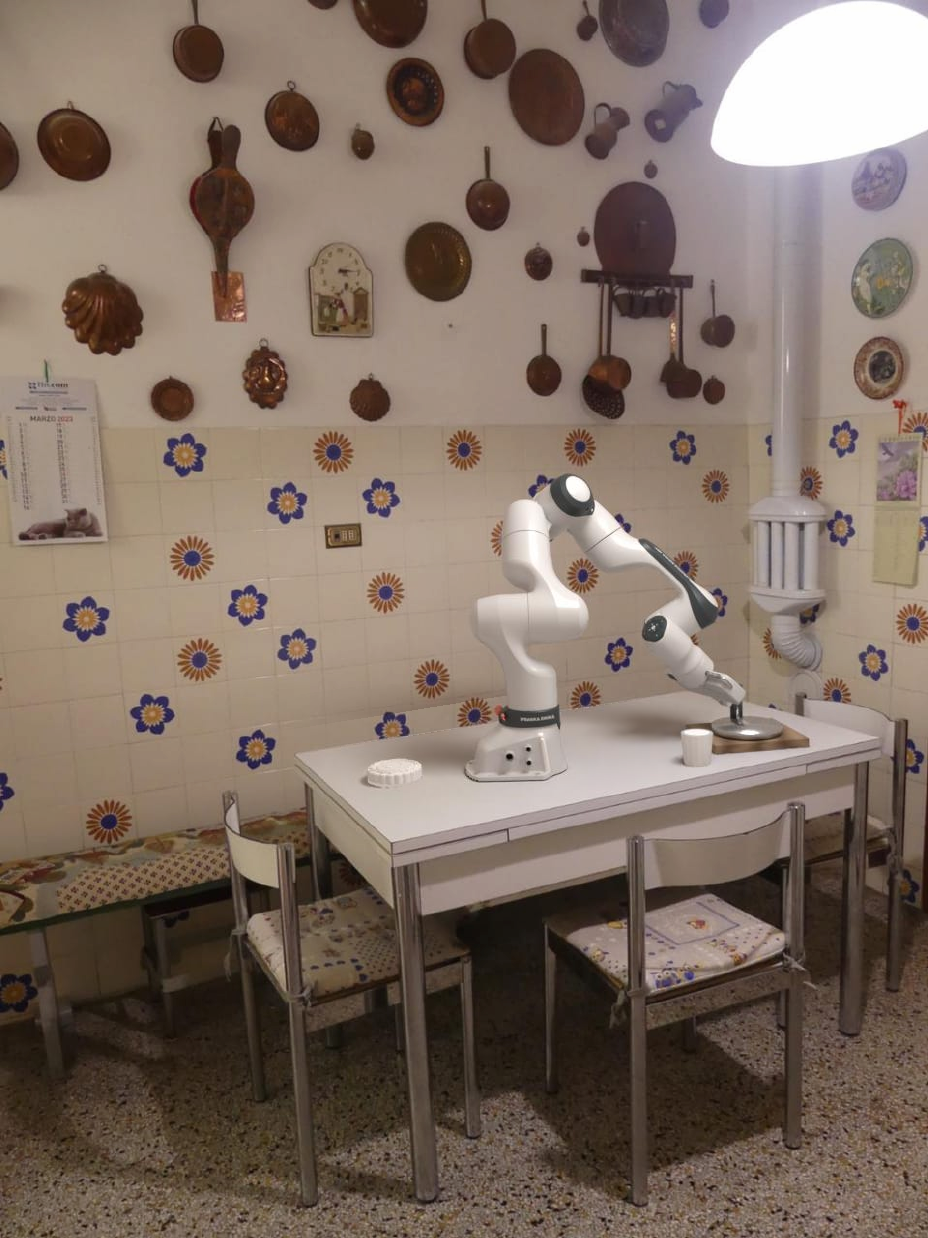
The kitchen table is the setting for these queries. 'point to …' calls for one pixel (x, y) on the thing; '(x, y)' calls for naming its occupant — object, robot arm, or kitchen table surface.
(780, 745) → the dial board
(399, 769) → the mooncake
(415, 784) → the kitchen table surface
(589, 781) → the kitchen table surface
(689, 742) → the white fluted cup
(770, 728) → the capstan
